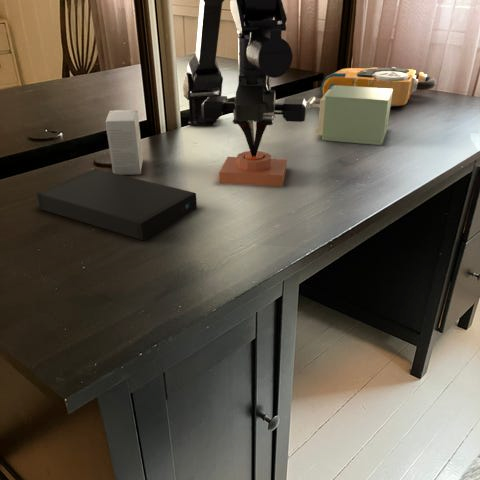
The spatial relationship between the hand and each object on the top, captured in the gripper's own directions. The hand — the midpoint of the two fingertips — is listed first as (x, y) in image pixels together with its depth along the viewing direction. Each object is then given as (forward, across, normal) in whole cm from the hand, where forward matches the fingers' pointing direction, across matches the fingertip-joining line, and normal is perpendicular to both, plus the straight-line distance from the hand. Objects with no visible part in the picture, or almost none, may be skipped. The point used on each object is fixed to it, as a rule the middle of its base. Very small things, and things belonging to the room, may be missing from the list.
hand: (254, 155), depth 102 cm
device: (+4, +27, +66) cm, 71 cm away
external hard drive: (+4, -21, -19) cm, 29 cm away
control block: (+4, 0, 0) cm, 4 cm away
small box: (+4, -26, +1) cm, 26 cm away
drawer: (+3, +16, +30) cm, 35 cm away
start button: (+2, 0, 0) cm, 2 cm away
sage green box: (+4, +20, +30) cm, 36 cm away
